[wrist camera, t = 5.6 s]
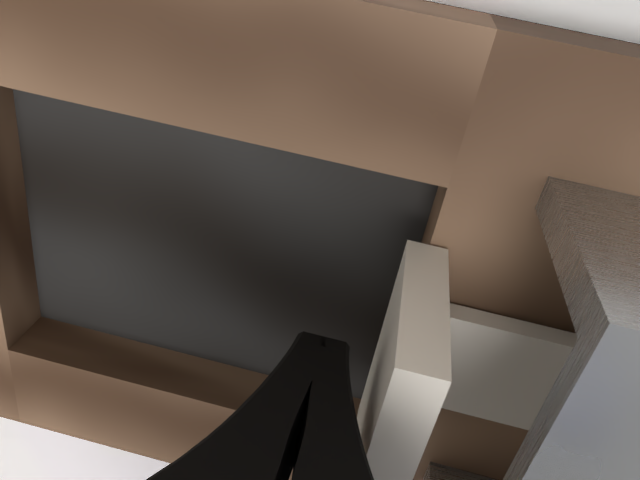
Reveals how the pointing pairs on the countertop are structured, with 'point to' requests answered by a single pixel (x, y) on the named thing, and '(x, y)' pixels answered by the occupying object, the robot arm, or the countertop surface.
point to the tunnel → (587, 343)
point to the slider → (448, 366)
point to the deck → (275, 195)
